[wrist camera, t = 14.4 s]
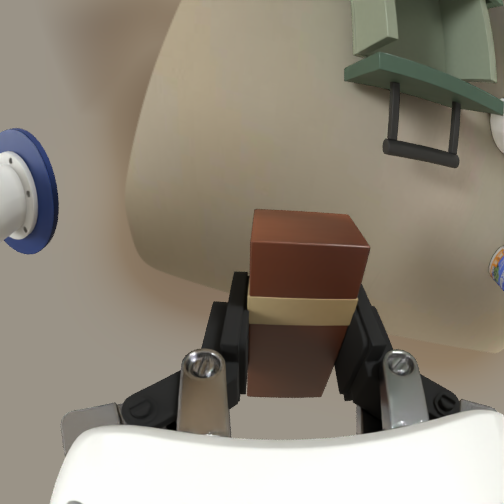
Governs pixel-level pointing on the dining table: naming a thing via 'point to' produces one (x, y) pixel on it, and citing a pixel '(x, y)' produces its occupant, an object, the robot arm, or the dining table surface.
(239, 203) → the dining table surface
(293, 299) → the brown banded block
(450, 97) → the drawer
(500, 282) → the pill bottle
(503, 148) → the water bottle
